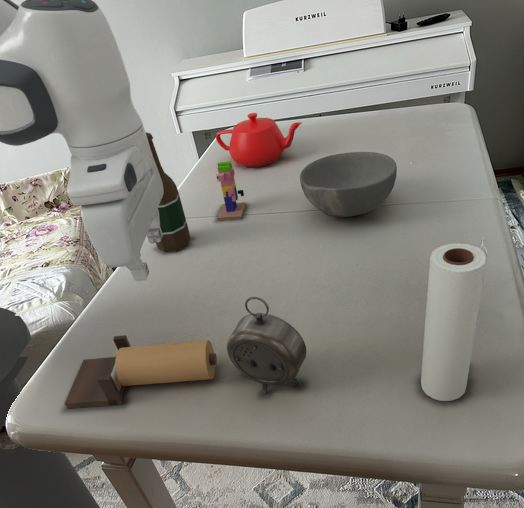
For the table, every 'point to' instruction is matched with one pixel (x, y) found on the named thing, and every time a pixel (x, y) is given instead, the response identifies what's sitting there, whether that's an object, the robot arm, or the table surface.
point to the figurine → (229, 193)
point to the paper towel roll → (451, 318)
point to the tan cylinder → (165, 363)
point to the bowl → (349, 182)
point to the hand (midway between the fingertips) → (150, 258)
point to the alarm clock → (266, 349)
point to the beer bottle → (170, 211)
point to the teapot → (257, 141)
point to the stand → (97, 382)
